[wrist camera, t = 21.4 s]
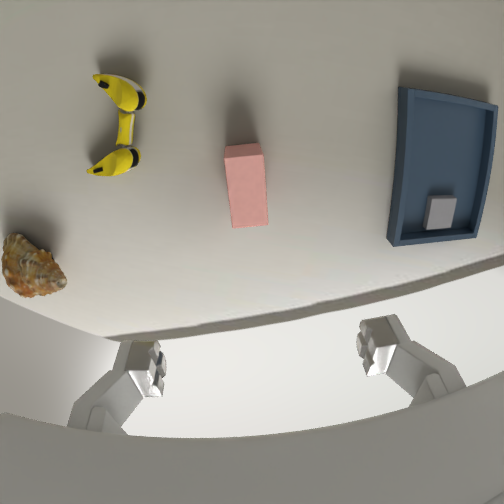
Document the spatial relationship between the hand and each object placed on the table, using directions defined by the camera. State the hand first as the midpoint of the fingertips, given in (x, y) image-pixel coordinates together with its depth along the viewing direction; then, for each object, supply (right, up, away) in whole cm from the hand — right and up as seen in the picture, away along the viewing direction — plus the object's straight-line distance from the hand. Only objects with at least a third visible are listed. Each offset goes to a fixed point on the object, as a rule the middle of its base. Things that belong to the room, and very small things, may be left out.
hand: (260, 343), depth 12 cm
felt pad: (+22, +9, +21) cm, 31 cm away
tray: (+22, +13, +18) cm, 31 cm away
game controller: (-13, +16, +14) cm, 25 cm away
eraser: (-1, +11, +18) cm, 21 cm away
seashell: (-27, +3, +21) cm, 35 cm away
